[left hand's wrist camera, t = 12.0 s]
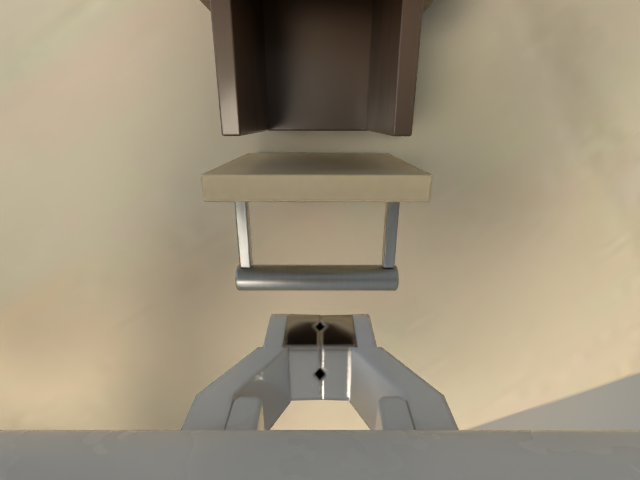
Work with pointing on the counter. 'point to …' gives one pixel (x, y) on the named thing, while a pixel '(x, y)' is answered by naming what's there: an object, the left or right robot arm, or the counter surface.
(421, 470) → the left robot arm
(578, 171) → the counter surface
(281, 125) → the drawer
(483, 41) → the counter surface
